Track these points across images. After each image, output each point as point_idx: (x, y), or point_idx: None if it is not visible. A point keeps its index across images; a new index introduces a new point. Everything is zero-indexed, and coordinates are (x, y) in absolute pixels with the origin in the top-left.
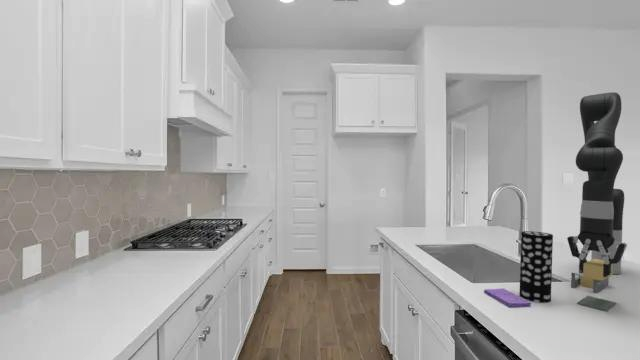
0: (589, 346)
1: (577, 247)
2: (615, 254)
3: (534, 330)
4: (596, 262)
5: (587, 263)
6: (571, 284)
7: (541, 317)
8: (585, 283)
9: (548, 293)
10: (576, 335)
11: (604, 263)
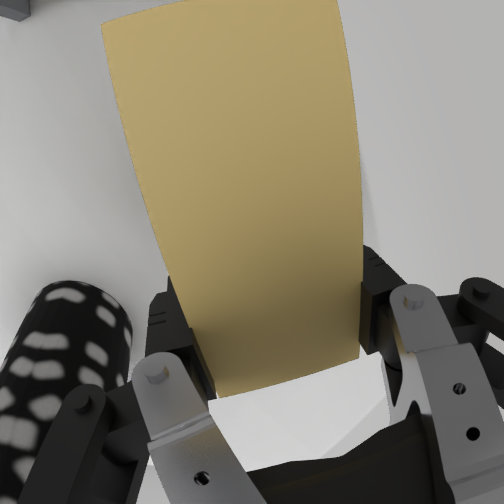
0: (339, 423)
1: (74, 479)
2: (497, 399)
3: (257, 452)
4: (254, 251)
5: (237, 377)
6: (13, 18)
7: (220, 418)
8: None
9: (127, 351)
10: (311, 417)
11: (327, 206)
